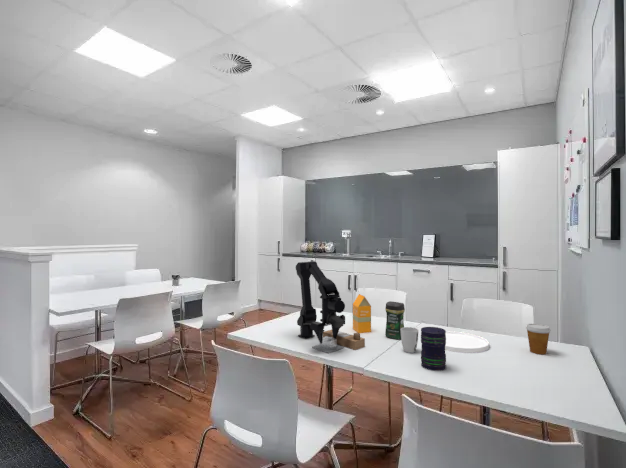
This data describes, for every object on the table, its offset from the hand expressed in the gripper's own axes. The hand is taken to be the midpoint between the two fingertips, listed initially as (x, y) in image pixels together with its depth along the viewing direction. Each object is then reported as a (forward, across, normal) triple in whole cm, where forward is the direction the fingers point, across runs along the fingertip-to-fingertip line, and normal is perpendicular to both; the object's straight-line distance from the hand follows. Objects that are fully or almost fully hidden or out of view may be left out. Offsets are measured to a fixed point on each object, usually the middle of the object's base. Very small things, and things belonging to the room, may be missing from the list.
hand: (328, 341), depth 169 cm
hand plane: (+3, +10, 0) cm, 11 cm away
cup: (+3, +24, -29) cm, 38 cm away
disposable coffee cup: (+3, +66, -70) cm, 96 cm away
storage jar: (+3, +16, -46) cm, 49 cm away
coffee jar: (+3, +38, -12) cm, 40 cm away
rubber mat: (+3, 0, 0) cm, 3 cm away
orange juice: (+3, +34, +8) cm, 36 cm away
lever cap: (+3, 0, 0) cm, 3 cm away
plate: (+4, +52, -39) cm, 65 cm away
